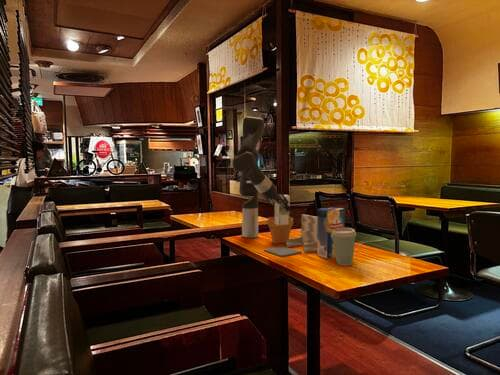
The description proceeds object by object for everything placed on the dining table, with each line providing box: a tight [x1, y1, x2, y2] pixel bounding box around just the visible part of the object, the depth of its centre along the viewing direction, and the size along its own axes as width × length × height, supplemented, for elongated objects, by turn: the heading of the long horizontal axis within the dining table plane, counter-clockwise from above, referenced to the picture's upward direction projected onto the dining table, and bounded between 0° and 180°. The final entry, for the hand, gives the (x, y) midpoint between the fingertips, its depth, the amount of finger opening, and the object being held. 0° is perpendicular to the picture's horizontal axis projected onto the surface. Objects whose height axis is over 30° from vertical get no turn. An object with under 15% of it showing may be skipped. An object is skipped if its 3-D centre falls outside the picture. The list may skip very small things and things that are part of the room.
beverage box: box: [316, 206, 346, 259], centre depth 167 cm, size 7×11×22 cm, turn 122°
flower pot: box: [266, 216, 294, 244], centre depth 198 cm, size 14×14×13 cm
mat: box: [263, 245, 302, 258], centre depth 174 cm, size 14×12×1 cm
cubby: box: [285, 213, 318, 253], centre depth 182 cm, size 14×12×16 cm
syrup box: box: [273, 194, 291, 226], centre depth 173 cm, size 6×6×14 cm
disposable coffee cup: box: [331, 227, 357, 267], centre depth 153 cm, size 11×11×15 cm
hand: (284, 209), depth 174 cm, fingers closed on syrup box, 6 cm apart
